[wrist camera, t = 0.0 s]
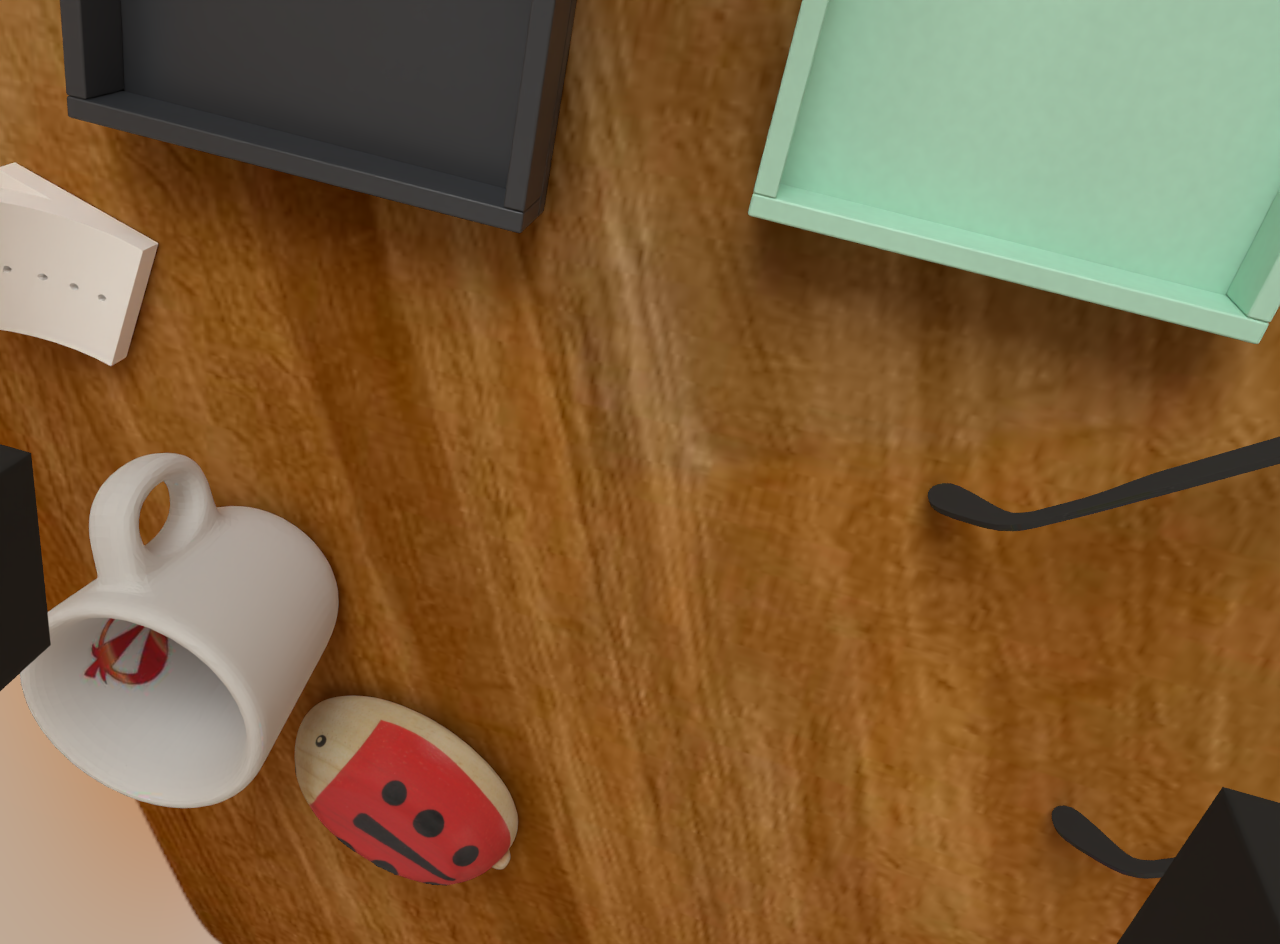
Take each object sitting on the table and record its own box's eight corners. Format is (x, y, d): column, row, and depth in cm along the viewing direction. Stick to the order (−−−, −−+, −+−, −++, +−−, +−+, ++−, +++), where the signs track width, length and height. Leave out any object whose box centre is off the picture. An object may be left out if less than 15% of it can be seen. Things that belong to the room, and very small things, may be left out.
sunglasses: (926, 485, 32) (936, 574, 28) (1507, 313, 27) (1630, 390, 23) (1051, 811, 37) (1076, 930, 33) (1561, 719, 32) (1671, 846, 28)
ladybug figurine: (350, 651, 40) (307, 713, 37) (564, 789, 41) (540, 860, 38) (280, 749, 43) (236, 813, 40) (481, 874, 45) (453, 945, 41)
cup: (113, 402, 37) (-62, 518, 30) (324, 401, 35) (191, 523, 28) (198, 653, 41) (66, 802, 35) (387, 662, 40) (287, 821, 33)
